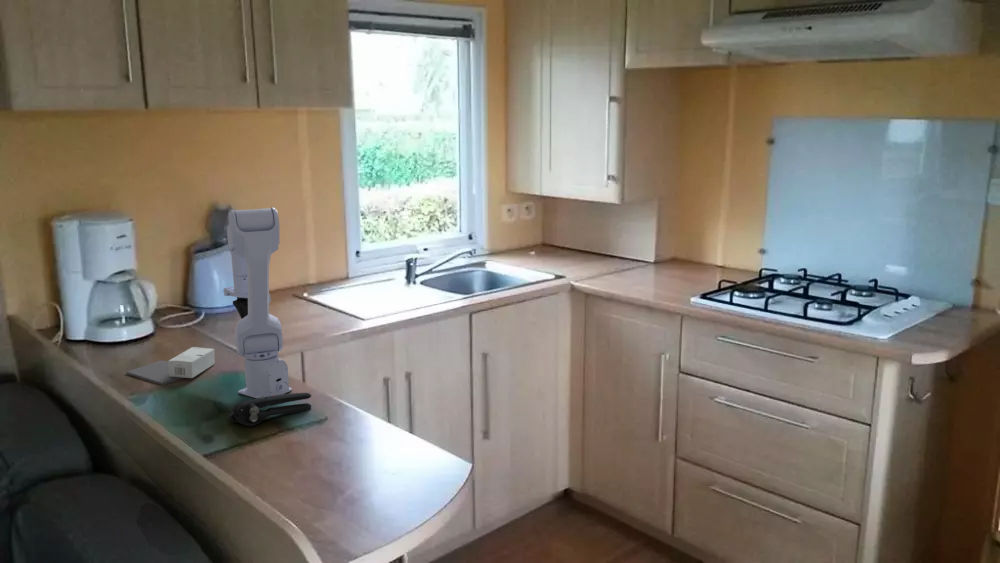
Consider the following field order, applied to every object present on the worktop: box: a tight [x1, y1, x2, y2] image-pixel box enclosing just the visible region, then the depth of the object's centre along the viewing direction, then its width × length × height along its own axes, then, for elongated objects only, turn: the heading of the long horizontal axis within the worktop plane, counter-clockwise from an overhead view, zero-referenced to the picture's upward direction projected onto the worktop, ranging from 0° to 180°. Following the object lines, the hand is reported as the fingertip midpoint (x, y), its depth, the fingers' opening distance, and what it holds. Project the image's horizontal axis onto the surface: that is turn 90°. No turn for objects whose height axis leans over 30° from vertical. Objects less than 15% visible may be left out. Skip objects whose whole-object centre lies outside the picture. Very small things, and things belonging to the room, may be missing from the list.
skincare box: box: [167, 346, 216, 379], centre depth 197 cm, size 6×4×12 cm
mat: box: [125, 359, 184, 386], centre depth 196 cm, size 14×10×1 cm
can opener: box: [227, 392, 312, 427], centre depth 171 cm, size 18×7×6 cm, turn 126°
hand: (249, 327), depth 199 cm, fingers closed
